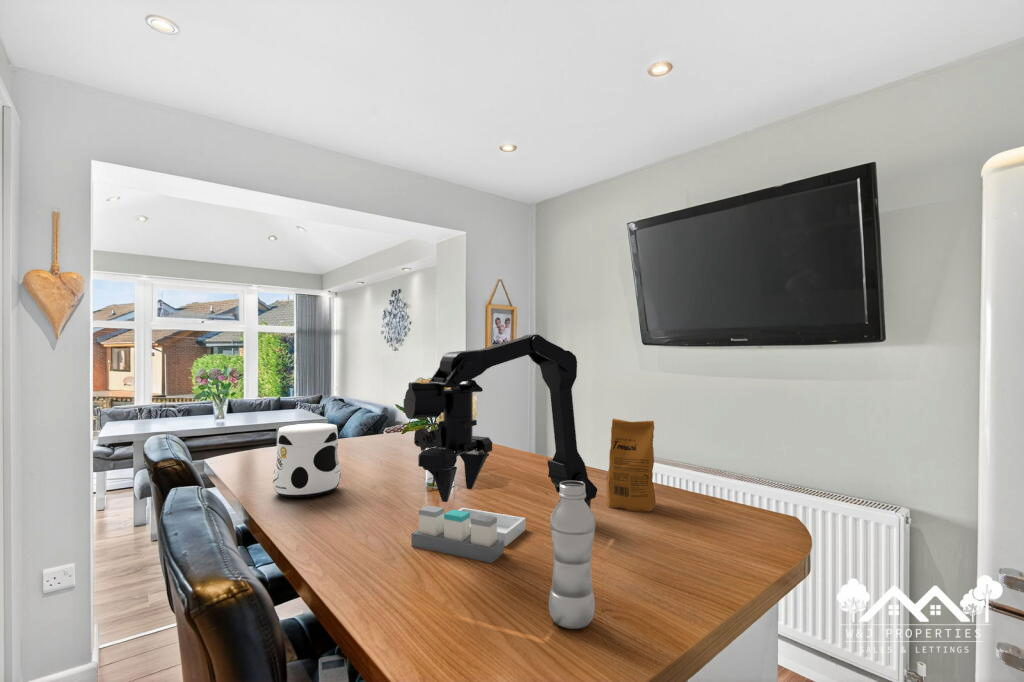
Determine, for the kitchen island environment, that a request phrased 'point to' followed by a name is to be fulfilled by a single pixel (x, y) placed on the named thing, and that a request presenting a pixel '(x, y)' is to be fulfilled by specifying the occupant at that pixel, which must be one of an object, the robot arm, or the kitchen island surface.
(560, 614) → the plastic bottle
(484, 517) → the fuse
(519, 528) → the tray
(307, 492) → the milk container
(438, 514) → the block
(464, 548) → the fuse holder
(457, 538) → the block
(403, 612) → the kitchen island surface
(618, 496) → the coffee package
